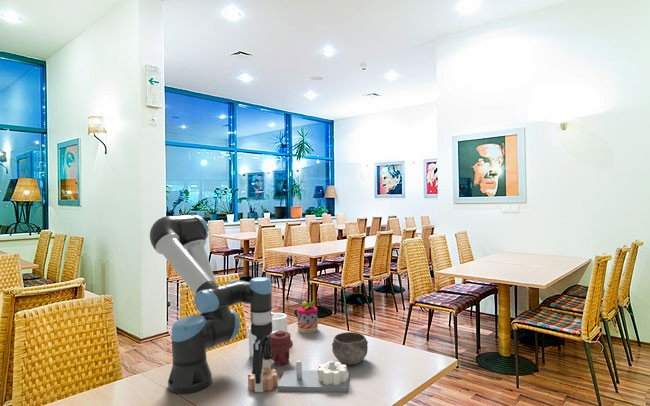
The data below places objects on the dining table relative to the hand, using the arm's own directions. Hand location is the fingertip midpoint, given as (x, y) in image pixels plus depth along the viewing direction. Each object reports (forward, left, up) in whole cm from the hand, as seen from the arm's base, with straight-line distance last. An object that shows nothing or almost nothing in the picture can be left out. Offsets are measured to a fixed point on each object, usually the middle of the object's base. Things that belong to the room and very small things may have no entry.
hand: (263, 384), depth 143 cm
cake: (+7, +60, -1) cm, 60 cm away
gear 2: (+25, +3, +1) cm, 25 cm away
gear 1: (0, 0, 0) cm, 0 cm away
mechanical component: (+2, +20, -1) cm, 20 cm away
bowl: (+30, +22, -1) cm, 37 cm away
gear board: (+18, +3, 0) cm, 18 cm away
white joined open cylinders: (-6, +36, -1) cm, 37 cm away
